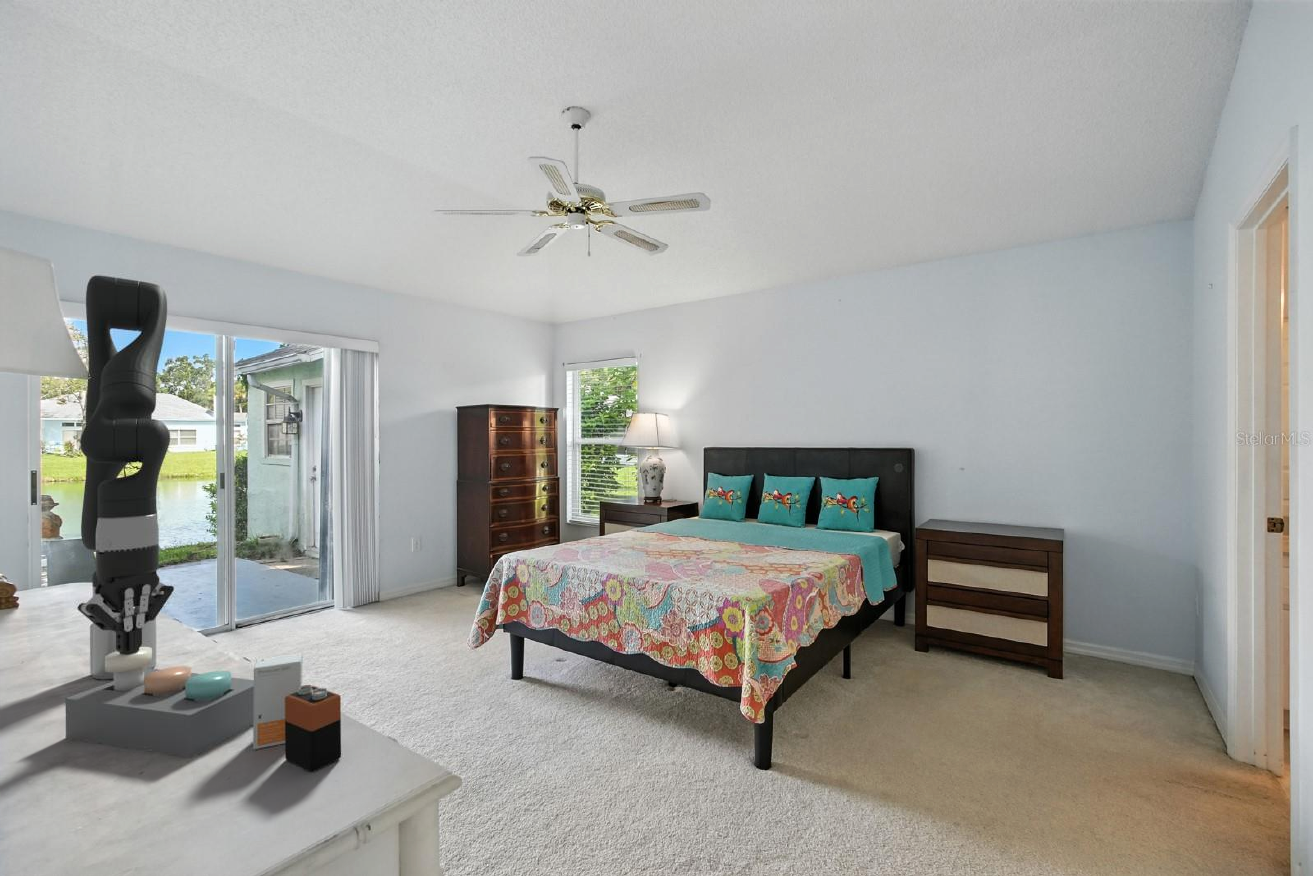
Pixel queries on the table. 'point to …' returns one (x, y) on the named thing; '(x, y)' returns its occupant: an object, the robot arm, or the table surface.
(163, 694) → the knob mid
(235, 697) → the mount
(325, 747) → the battery
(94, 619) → the robot arm
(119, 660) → the knob
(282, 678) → the skincare box
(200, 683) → the knob
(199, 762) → the table surface
